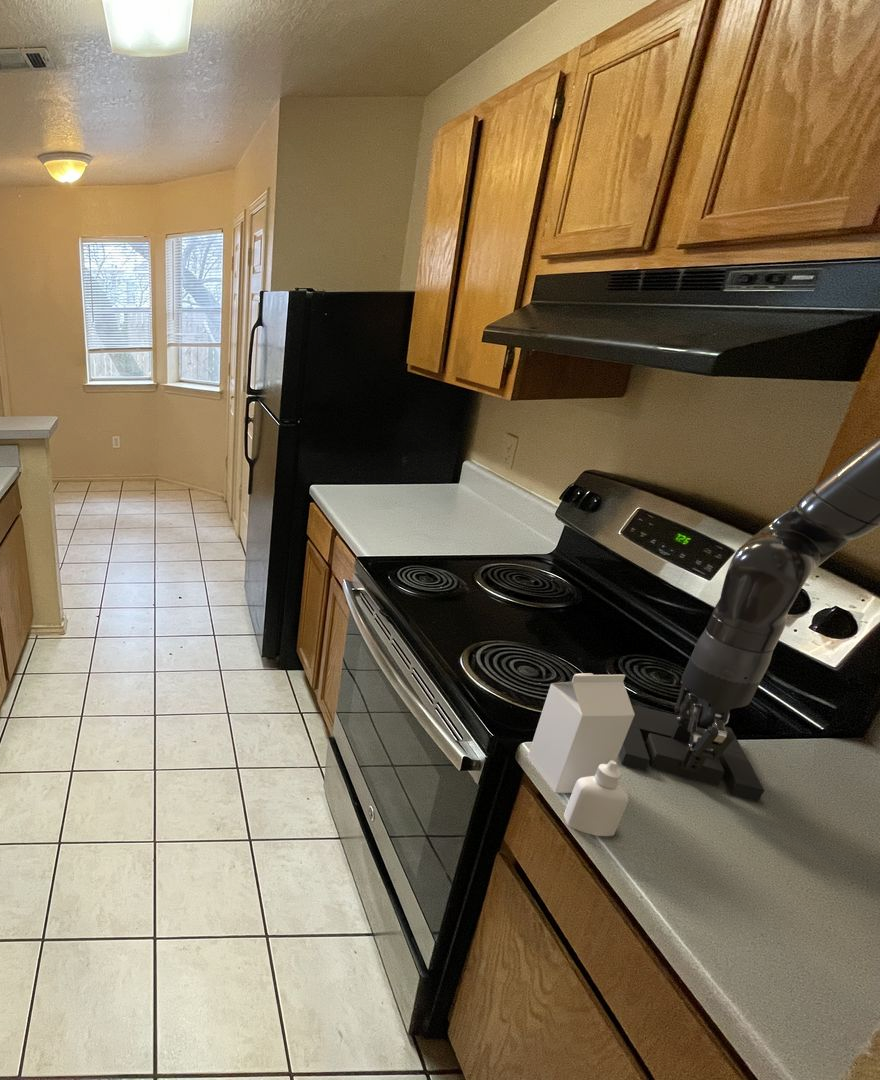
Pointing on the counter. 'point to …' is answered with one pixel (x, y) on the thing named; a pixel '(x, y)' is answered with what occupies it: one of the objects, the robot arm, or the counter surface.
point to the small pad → (679, 759)
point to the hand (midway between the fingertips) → (683, 756)
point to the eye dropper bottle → (597, 802)
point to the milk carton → (580, 728)
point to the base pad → (732, 759)
